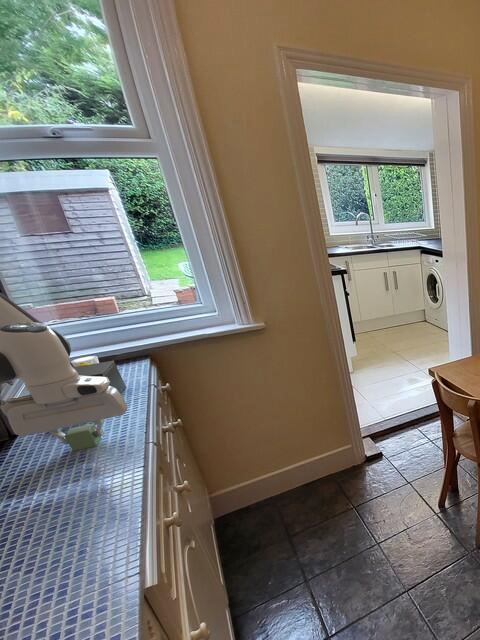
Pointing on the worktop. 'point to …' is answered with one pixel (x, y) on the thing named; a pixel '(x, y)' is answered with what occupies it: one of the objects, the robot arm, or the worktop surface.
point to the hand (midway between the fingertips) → (85, 439)
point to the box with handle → (104, 373)
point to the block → (82, 437)
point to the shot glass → (85, 360)
